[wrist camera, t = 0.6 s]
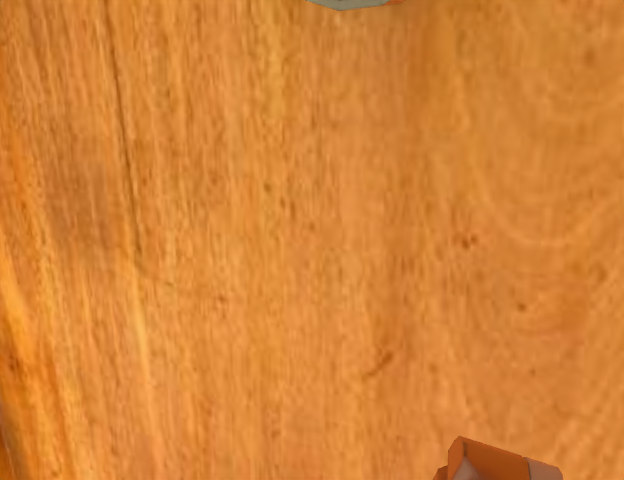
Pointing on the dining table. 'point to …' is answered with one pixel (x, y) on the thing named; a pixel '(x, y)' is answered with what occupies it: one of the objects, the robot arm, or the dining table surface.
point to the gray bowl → (353, 3)
